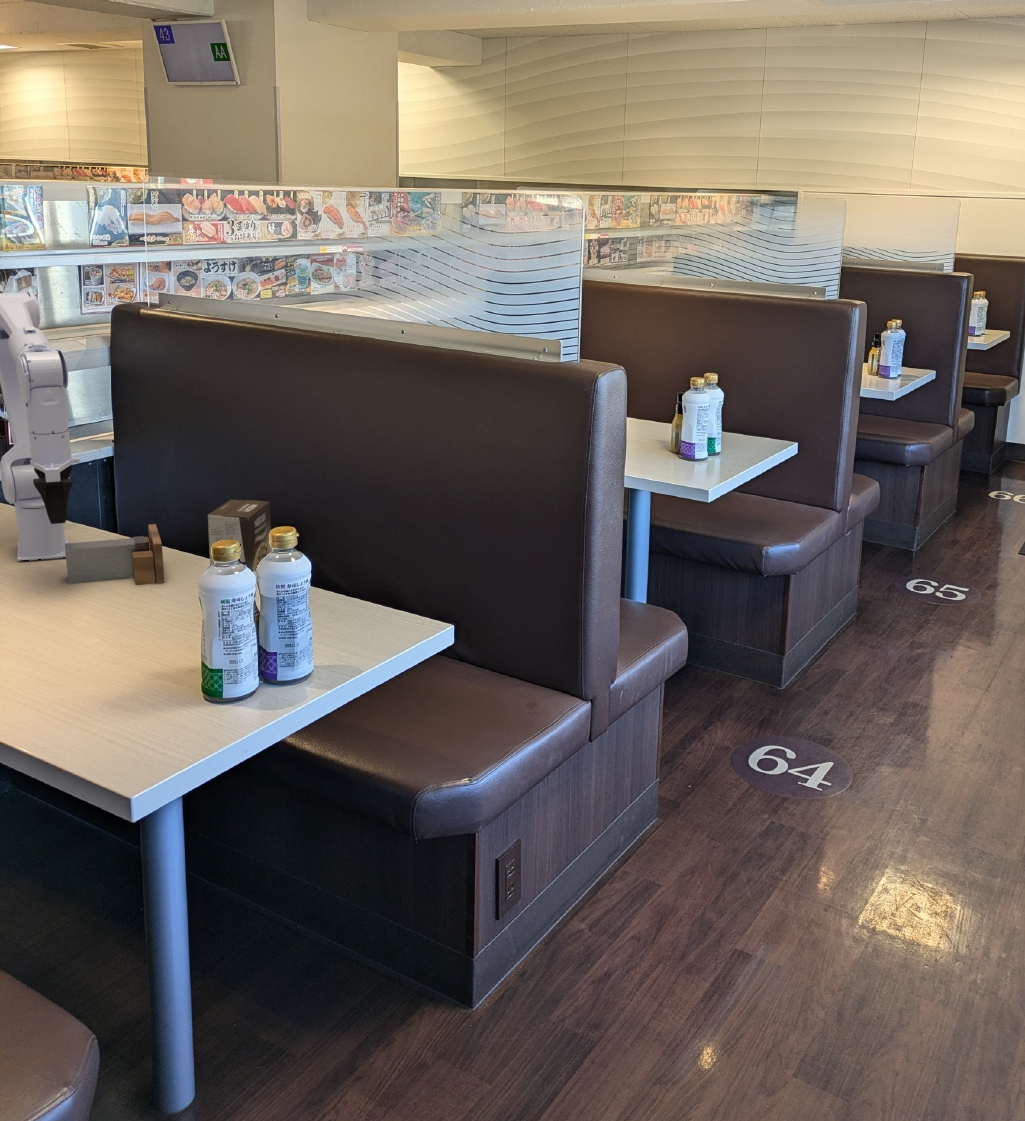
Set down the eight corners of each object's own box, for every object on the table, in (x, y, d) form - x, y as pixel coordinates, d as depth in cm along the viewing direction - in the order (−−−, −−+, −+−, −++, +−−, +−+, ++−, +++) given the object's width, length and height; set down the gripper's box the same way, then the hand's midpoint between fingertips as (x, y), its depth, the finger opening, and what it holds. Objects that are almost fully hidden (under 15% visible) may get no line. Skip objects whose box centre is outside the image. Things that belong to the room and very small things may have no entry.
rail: (68, 576, 180) (64, 542, 178) (146, 569, 184) (143, 536, 182) (68, 583, 177) (64, 548, 175) (148, 576, 181) (145, 542, 179)
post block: (130, 563, 187) (127, 526, 185) (158, 561, 188) (155, 524, 186) (135, 585, 177) (132, 546, 175) (164, 582, 179) (161, 543, 176)
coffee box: (253, 623, 164) (248, 517, 159) (211, 619, 165) (205, 514, 160) (275, 601, 172) (271, 500, 167) (235, 597, 173) (230, 497, 168)
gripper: (77, 438, 166) (86, 526, 170) (75, 420, 179) (83, 503, 183) (26, 441, 164) (36, 530, 168) (27, 423, 176) (37, 506, 181)
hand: (58, 516), depth 175 cm, fingers open, 7 cm apart
